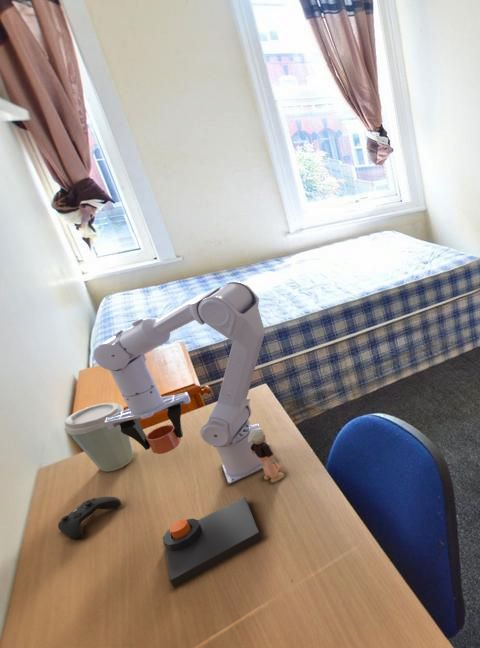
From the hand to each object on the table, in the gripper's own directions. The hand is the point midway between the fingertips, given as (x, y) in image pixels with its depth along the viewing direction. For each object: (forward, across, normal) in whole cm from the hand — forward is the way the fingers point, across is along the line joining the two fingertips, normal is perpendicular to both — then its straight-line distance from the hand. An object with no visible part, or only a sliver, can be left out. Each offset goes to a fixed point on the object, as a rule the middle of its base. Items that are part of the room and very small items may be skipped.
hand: (164, 441), depth 103 cm
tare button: (+6, +2, -25) cm, 25 cm away
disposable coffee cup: (+9, -13, +15) cm, 22 cm away
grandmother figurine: (+10, +18, -15) cm, 25 cm away
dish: (+2, 0, 0) cm, 2 cm away
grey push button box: (+9, +6, -27) cm, 29 cm away
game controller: (+10, -16, -4) cm, 19 cm away
